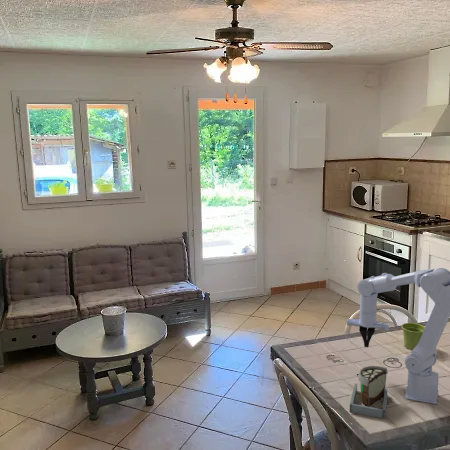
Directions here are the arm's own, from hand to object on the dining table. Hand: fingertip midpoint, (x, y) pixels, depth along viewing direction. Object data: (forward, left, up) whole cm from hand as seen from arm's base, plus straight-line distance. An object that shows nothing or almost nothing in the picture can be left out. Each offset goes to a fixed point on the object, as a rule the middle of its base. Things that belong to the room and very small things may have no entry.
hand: (366, 346), depth 169 cm
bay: (-3, +21, -10) cm, 24 cm away
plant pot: (-16, -29, -11) cm, 35 cm away
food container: (-3, +18, -11) cm, 21 cm away
